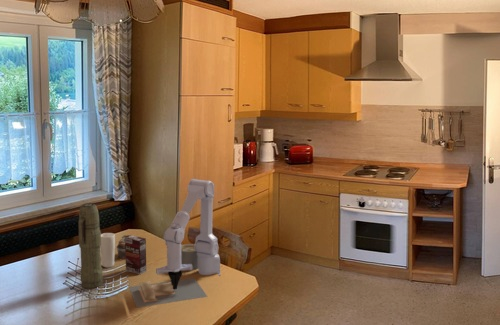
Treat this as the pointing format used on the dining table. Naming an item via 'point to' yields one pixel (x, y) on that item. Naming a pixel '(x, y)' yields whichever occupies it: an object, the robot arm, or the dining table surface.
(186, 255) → the coffee mug
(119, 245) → the cupcake
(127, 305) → the dining table surface
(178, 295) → the board
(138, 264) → the supplement box
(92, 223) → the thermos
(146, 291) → the t block
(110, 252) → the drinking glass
